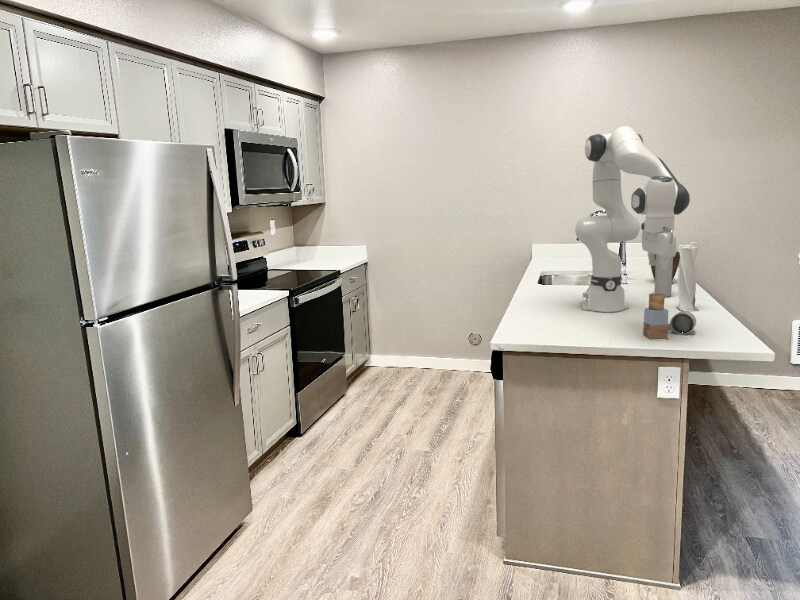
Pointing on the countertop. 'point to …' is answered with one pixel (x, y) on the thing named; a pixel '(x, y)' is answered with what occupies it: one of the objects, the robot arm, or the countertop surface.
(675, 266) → the plant pot
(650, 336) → the walnut base block
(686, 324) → the ceramic mug
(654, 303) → the oak cylinder
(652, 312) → the slate upper block
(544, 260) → the countertop surface
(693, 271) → the skyscraper
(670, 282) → the water bottle
